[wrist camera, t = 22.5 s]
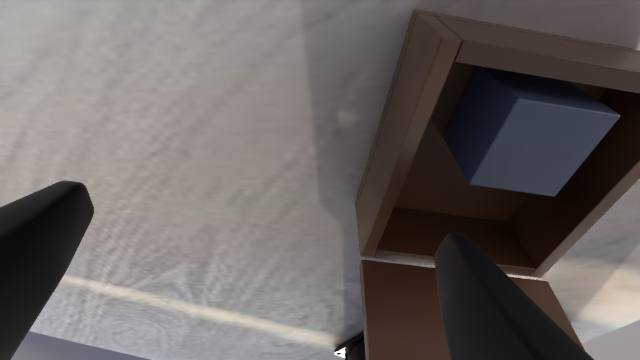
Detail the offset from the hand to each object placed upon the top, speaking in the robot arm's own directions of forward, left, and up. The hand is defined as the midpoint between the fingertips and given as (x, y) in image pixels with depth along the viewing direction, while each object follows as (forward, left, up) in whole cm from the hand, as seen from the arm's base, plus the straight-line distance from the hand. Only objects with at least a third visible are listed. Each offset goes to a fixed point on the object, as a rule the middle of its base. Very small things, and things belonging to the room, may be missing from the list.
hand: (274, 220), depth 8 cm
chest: (+3, -11, -11) cm, 16 cm away
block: (+5, -10, -11) cm, 15 cm away
